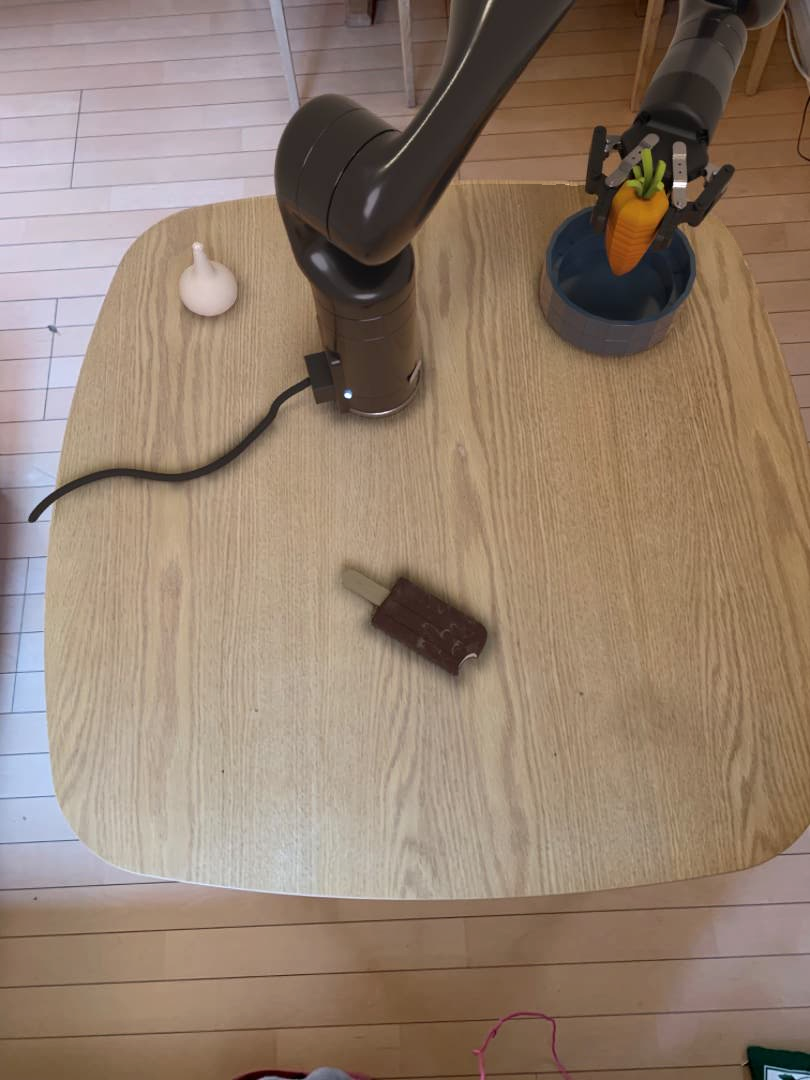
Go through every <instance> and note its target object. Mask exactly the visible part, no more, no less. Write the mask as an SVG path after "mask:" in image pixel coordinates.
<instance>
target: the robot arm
mask: <svg viewBox="0 0 810 1080" xmlns="http://www.w3.org/2000/svg"><path fill="white" fill-rule="evenodd" d="M578 1H579V0H450V9H449V19H448V20H449V21H448V30H447V38H446V46H445V51H444V55H443V59H442V63H441V67H440V69H439V72H438V75H437V77H436V79H435V82H434V83H433V85H432V87H431V89H430V91H429V93H428V94H427V96H426V98H425V100H424V101H423V103H422V105H421V106H420V108H419V109H418V111H417V112H416V114H415V115H414V116H413V118H412V119H411V121H410V123H409V124H407V126H406V127H405V128H404V130H402V131H401V130H400V129H398V128H397V127H395V126H394V125H392V124H391V123H389V122H388V121H386V120H385V119H383V118H381V117H380V116H379V115H377V114H376V113H374V112H372V111H371V110H370V109H369V108H367V107H365V106H363V105H362V104H360V103H359V102H358V101H356V100H355V99H353V98H351V97H349V96H347V95H344V94H341V93H333V92H332V93H331V92H330V93H323V94H320V95H317V96H314V97H313V98H311V99H309V100H307V101H306V102H305V103H302V105H301V106H300V107H299V108H297V110H296V111H295V112H294V113H293V114H292V116H291V117H290V119H289V120H288V122H287V123H286V125H285V127H284V129H283V131H282V133H281V136H280V138H279V142H278V145H277V149H276V153H275V159H274V168H273V180H274V181H273V182H274V192H275V197H276V201H277V206H278V210H279V214H280V217H281V220H282V224H283V227H284V230H285V233H286V236H287V239H288V243H289V246H290V248H291V253H292V255H293V256H292V257H293V258H294V261H295V263H296V265H297V267H298V269H299V270H300V272H301V273H302V274H303V276H304V277H305V278H306V280H307V281H308V282H309V286H310V289H311V293H312V298H313V302H314V307H315V312H316V315H315V318H316V321H317V326H318V327H317V328H318V331H319V337H320V341H321V345H322V349H323V351H319V352H318V351H317V352H314V353H310V354H306V355H303V358H304V363H305V366H306V370H307V374H308V376H307V377H306V378H304V379H302V380H300V381H299V382H297V383H296V384H294V385H292V386H290V387H289V388H287V389H286V390H284V391H283V392H282V393H280V394H279V395H278V396H277V397H276V398H275V399H274V400H273V401H272V403H271V404H270V407H269V410H268V412H267V414H266V415H265V417H264V418H263V419H262V420H260V422H259V423H258V424H257V425H256V426H255V428H254V429H253V430H252V431H251V432H249V434H248V435H247V436H245V438H244V439H242V441H240V442H239V444H237V446H235V447H234V448H233V449H232V450H230V451H229V452H227V453H226V454H224V455H223V456H222V457H219V458H218V459H215V461H212V462H210V463H209V464H206V465H204V466H202V467H199V468H196V469H193V470H190V471H186V472H179V473H163V472H155V471H150V470H143V469H137V468H128V467H116V468H107V469H103V470H99V471H95V472H92V473H88V474H86V475H83V476H80V477H78V478H76V479H73V480H71V481H70V482H68V483H65V484H63V485H62V486H60V487H58V488H56V489H55V490H54V491H52V492H51V493H49V494H48V495H47V496H45V497H44V498H43V499H42V500H41V501H40V502H39V503H38V504H37V505H36V506H35V507H34V508H33V509H32V511H31V512H30V513H29V515H28V517H27V518H28V519H27V522H28V523H29V524H33V523H35V522H36V521H38V520H39V518H40V516H41V515H42V514H43V513H44V512H45V511H46V510H47V509H48V508H49V507H50V506H51V505H52V504H54V503H55V502H57V501H58V500H59V499H61V498H62V497H63V496H65V495H67V494H68V493H70V492H72V491H74V490H76V489H79V488H81V487H83V486H86V485H89V484H92V483H94V482H97V481H100V480H104V479H108V478H116V477H127V478H128V477H129V478H139V479H145V480H150V481H156V482H163V483H164V482H165V483H180V482H186V481H191V480H195V479H198V478H201V477H204V476H206V475H208V474H211V473H213V472H216V471H217V470H219V469H221V468H223V467H224V466H226V465H228V464H229V463H231V462H232V461H233V460H235V459H236V458H238V456H239V455H241V454H242V453H243V452H245V450H246V449H247V448H248V447H249V446H250V445H251V444H252V443H253V442H254V441H255V440H257V439H258V438H259V436H260V435H261V434H262V433H264V431H265V430H266V429H267V428H268V426H270V425H271V423H272V422H273V421H274V420H275V419H276V417H277V415H278V412H279V410H280V408H281V406H282V405H283V404H284V403H285V402H286V401H287V400H289V399H290V398H291V397H293V396H295V395H296V394H298V393H300V392H302V391H304V390H305V389H307V388H309V387H311V391H312V394H313V397H314V401H315V405H321V404H324V403H329V402H334V401H335V402H336V406H337V409H338V412H339V413H340V414H346V413H351V414H354V415H357V416H359V417H363V418H368V419H369V418H370V419H378V418H385V417H389V416H393V415H394V414H396V413H398V412H400V411H402V410H404V409H405V408H406V407H407V406H408V405H410V403H411V402H412V401H413V400H414V398H415V397H416V394H417V393H418V391H419V388H420V380H421V371H420V367H421V365H422V359H421V358H420V359H419V336H418V309H417V277H416V274H417V273H416V271H417V270H416V257H415V255H416V254H415V251H414V247H413V244H412V242H411V241H413V239H414V238H415V237H416V235H417V234H418V233H419V231H420V230H421V229H422V227H423V226H424V225H425V223H426V222H427V221H428V219H429V217H430V216H431V215H432V213H433V211H434V210H435V208H436V207H437V206H438V203H440V201H441V199H442V198H443V196H444V194H445V193H446V191H447V189H448V188H449V186H450V185H451V183H452V182H453V180H454V178H455V177H456V175H457V173H458V171H460V169H461V168H462V165H463V164H464V162H465V161H466V159H467V157H468V155H470V152H471V151H472V149H473V147H474V145H475V144H476V143H477V142H478V140H479V138H480V136H481V134H482V133H483V131H484V130H485V128H486V126H487V125H488V124H489V122H490V120H491V119H492V118H493V116H494V114H495V113H496V111H497V110H498V108H499V107H500V106H501V104H502V103H503V101H504V100H505V99H506V97H507V95H508V94H509V92H510V91H511V90H512V88H513V87H514V85H515V84H516V83H517V81H518V80H519V79H520V77H521V76H522V75H523V73H524V72H525V71H526V69H527V68H528V67H529V65H530V64H531V62H532V61H533V59H534V58H535V57H536V55H537V54H538V53H539V52H540V50H541V49H542V47H543V46H544V45H545V44H546V43H547V41H548V40H549V38H550V36H552V35H553V33H554V32H555V31H556V29H557V28H558V27H559V26H560V24H561V23H562V22H563V20H564V19H565V18H566V16H567V15H568V14H569V13H570V12H571V11H572V9H573V8H574V6H576V4H577V3H578ZM785 3H786V0H678V17H677V24H676V29H675V32H674V35H673V37H672V40H671V42H670V44H669V46H668V49H667V51H666V54H665V55H664V57H663V59H662V61H661V62H660V64H659V65H658V67H657V68H656V70H655V72H654V74H653V76H652V79H651V81H650V83H649V86H648V87H647V90H646V92H645V95H644V97H643V99H642V101H641V103H640V105H639V108H638V110H637V112H636V114H635V117H634V119H633V122H632V124H631V126H630V127H629V128H627V129H626V130H625V131H623V132H622V134H621V135H619V134H612V133H607V132H608V130H607V127H606V126H604V125H597V126H595V127H594V128H593V131H592V136H591V141H590V146H589V149H588V150H589V151H588V158H587V168H586V175H585V183H584V191H585V193H586V194H588V195H596V197H597V199H596V202H595V204H594V205H593V206H594V209H593V211H592V215H591V219H590V226H593V227H595V228H594V232H593V233H595V234H598V235H601V233H602V231H603V228H604V226H605V224H606V222H607V219H608V217H609V213H610V209H611V205H612V200H613V198H614V196H615V195H616V194H617V192H618V191H619V189H620V188H621V187H622V185H623V184H624V183H625V181H628V180H634V179H636V177H635V174H634V171H633V167H634V166H639V167H640V169H641V172H642V176H643V178H644V167H643V162H642V154H641V150H643V149H645V148H646V149H650V150H651V156H652V164H653V175H652V180H653V178H654V175H655V172H656V168H657V165H658V162H659V160H662V161H663V162H664V163H665V164H666V168H665V171H664V174H663V177H662V180H661V182H662V183H663V184H664V187H663V188H664V191H665V194H666V196H667V199H668V202H669V206H668V209H667V211H666V214H665V216H664V219H663V221H662V224H661V226H660V229H659V231H658V233H657V236H656V239H655V241H654V244H653V247H652V249H651V252H653V253H656V254H658V253H659V250H660V248H661V249H664V250H666V249H667V248H668V247H669V246H670V243H671V241H672V238H673V236H674V233H675V231H676V228H677V227H679V226H680V224H687V225H688V226H689V227H693V228H698V227H699V226H700V225H701V224H702V223H703V221H704V220H705V219H706V217H707V216H708V215H709V213H710V212H711V211H712V209H714V207H715V205H716V204H717V203H718V202H719V201H720V199H721V198H722V197H723V195H724V194H725V193H726V192H727V190H728V187H729V185H730V183H731V181H732V178H733V176H734V175H735V172H736V168H735V167H734V166H733V165H732V164H729V163H726V164H724V165H722V166H721V167H719V166H717V165H715V164H714V163H713V162H711V161H710V156H709V153H708V152H709V148H710V145H711V144H712V143H711V142H712V140H713V138H714V135H715V133H716V130H717V128H718V125H719V123H720V120H721V119H722V117H723V115H724V110H725V108H726V105H727V103H728V100H729V98H730V95H731V89H732V84H733V81H734V79H735V76H736V73H737V71H738V68H739V67H740V63H741V60H742V58H743V56H744V53H745V50H746V46H747V42H748V31H755V30H759V29H762V28H764V27H766V26H768V25H769V24H771V22H773V21H774V20H775V19H776V17H778V15H779V14H780V13H781V11H782V9H783V7H784V5H785ZM615 151H617V153H618V155H619V157H620V160H621V161H620V163H619V165H618V166H617V168H615V170H613V172H611V173H610V174H609V175H608V176H607V175H606V174H605V173H603V168H604V162H605V161H606V160H607V159H608V158H610V157H611V155H612V153H613V152H615ZM700 177H702V178H703V180H704V181H703V183H702V187H703V190H702V191H701V192H700V194H699V195H698V197H697V198H696V199H695V200H694V201H688V197H687V186H688V184H689V183H691V182H693V181H695V180H697V179H699V178H700Z"/></svg>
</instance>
